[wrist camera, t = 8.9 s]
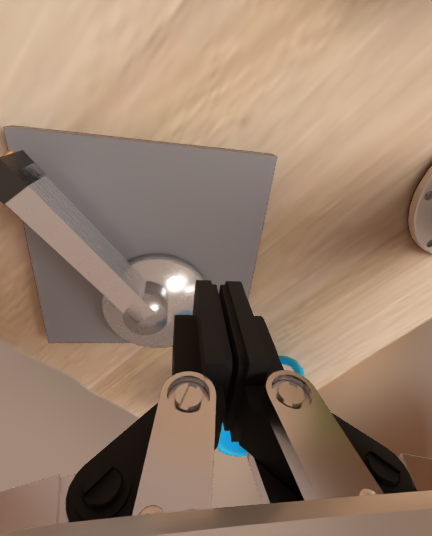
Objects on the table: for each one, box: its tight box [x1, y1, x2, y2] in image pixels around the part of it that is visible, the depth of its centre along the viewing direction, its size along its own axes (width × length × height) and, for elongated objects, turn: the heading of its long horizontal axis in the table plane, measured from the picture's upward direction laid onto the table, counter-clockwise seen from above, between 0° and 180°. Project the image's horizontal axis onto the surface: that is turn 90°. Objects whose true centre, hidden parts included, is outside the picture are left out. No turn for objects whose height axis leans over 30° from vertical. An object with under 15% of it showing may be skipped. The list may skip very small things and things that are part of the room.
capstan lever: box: [0, 150, 206, 348], centre depth 24 cm, size 10×21×5 cm, turn 32°
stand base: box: [3, 126, 277, 343], centre depth 27 cm, size 20×20×2 cm
